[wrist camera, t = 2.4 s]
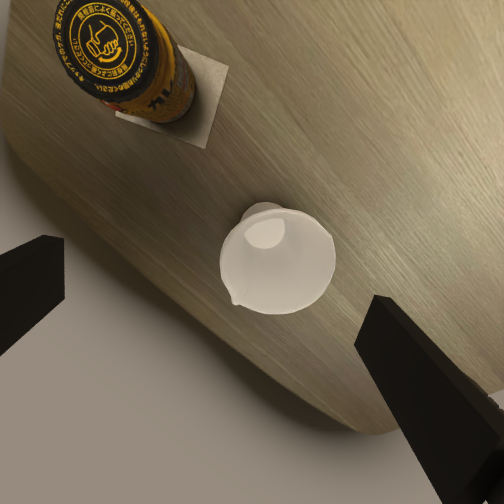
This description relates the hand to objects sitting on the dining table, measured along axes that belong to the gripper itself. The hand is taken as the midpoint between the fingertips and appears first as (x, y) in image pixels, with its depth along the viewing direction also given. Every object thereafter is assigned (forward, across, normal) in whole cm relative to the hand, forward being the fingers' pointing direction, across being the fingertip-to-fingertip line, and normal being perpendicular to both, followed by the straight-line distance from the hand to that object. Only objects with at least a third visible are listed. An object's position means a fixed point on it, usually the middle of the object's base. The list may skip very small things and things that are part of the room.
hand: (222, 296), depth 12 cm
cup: (+19, +4, -2) cm, 20 cm away
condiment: (+19, -7, +9) cm, 22 cm away
